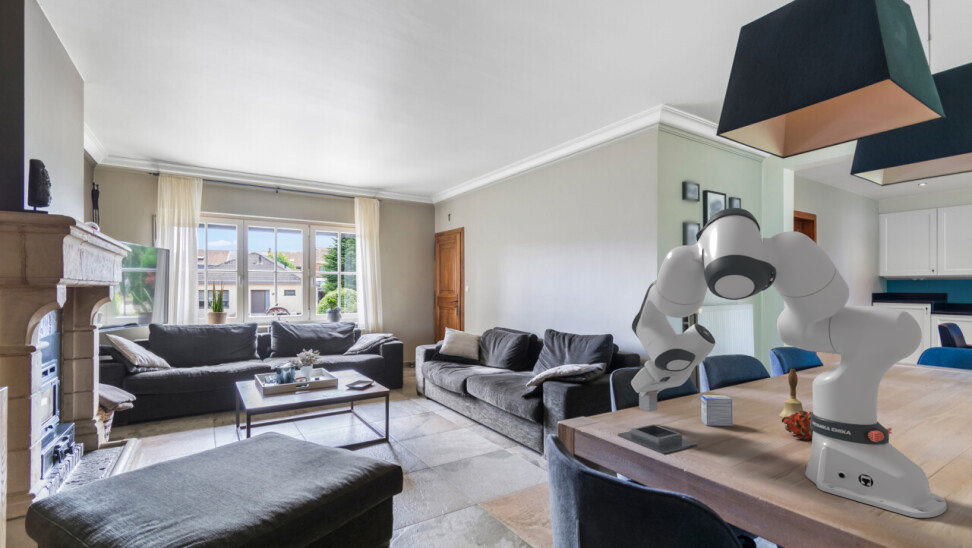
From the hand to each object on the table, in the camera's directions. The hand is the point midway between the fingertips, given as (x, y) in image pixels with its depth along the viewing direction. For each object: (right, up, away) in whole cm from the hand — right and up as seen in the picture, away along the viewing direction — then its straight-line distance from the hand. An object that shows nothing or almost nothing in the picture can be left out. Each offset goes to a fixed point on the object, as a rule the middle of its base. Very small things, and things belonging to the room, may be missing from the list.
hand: (647, 393), depth 139 cm
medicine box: (+22, -10, 0) cm, 24 cm away
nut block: (0, -5, 0) cm, 5 cm away
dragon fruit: (+40, -10, -13) cm, 43 cm away
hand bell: (+51, -10, +8) cm, 53 cm away
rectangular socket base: (-3, -9, -16) cm, 18 cm away
